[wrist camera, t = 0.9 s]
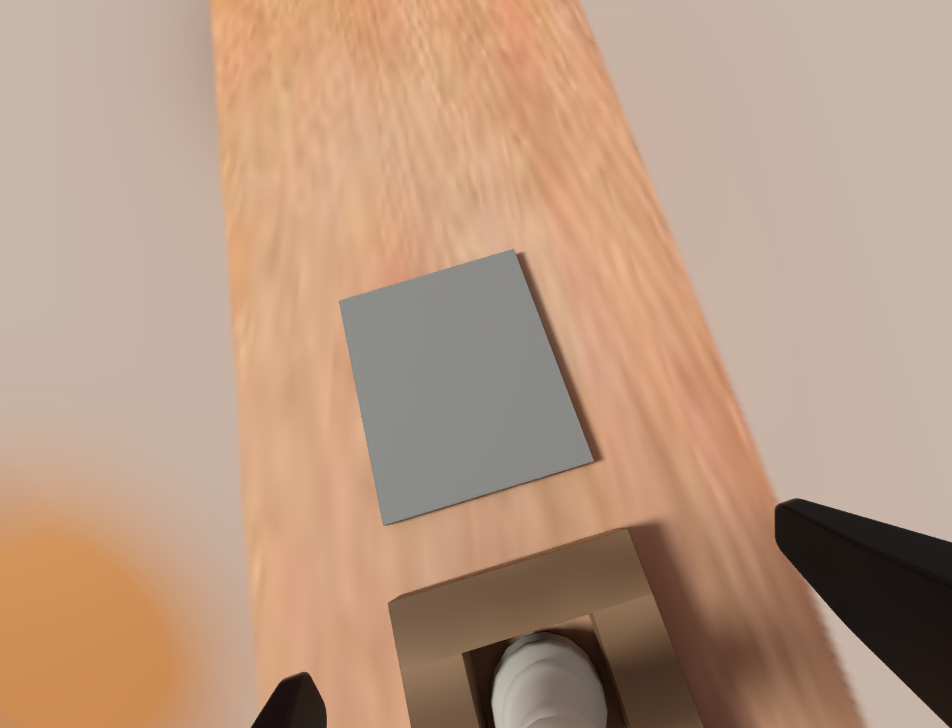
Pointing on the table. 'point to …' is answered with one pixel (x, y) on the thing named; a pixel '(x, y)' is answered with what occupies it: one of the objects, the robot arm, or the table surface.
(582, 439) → the slate mat
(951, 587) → the robot arm
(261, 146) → the table surface
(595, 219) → the table surface
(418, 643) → the socket block
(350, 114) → the table surface
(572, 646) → the rook chess piece
